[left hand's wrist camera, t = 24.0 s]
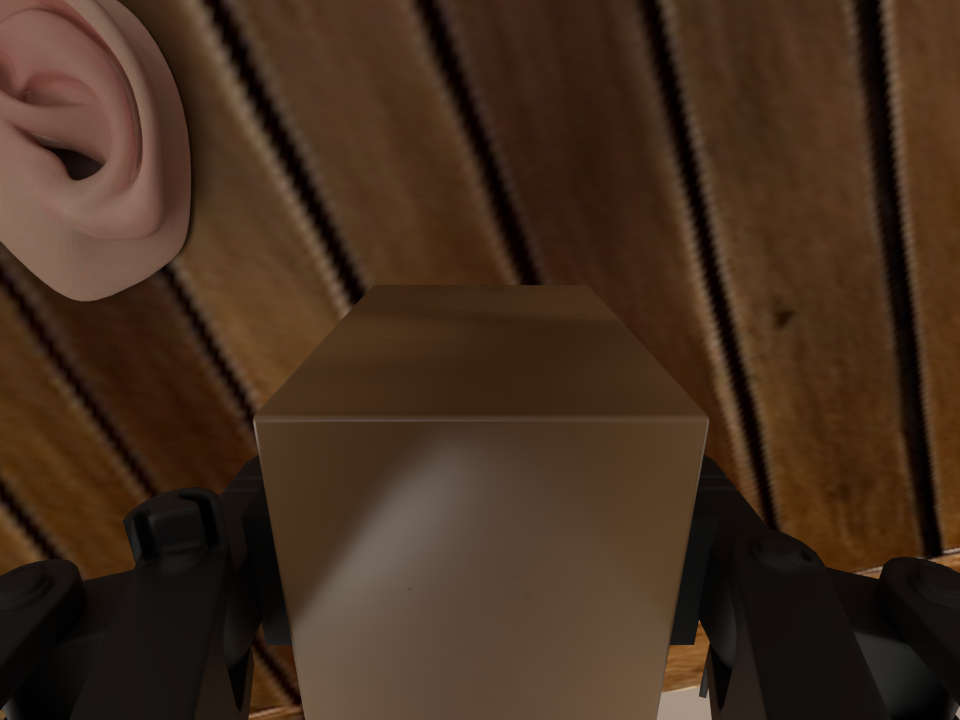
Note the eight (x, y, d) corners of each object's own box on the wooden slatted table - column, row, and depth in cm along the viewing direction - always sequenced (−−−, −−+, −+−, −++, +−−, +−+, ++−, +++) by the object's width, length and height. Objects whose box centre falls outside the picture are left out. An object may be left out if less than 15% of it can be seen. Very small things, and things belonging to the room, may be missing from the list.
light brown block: (388, 494, 17) (311, 765, 9) (372, 284, 14) (249, 417, 7) (573, 494, 17) (650, 766, 9) (589, 284, 14) (712, 417, 7)
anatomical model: (69, 363, 23) (-207, 186, 20) (127, 335, 26) (-99, 183, 24) (221, 108, 19) (-91, -147, 16) (264, 118, 23) (14, -89, 20)
